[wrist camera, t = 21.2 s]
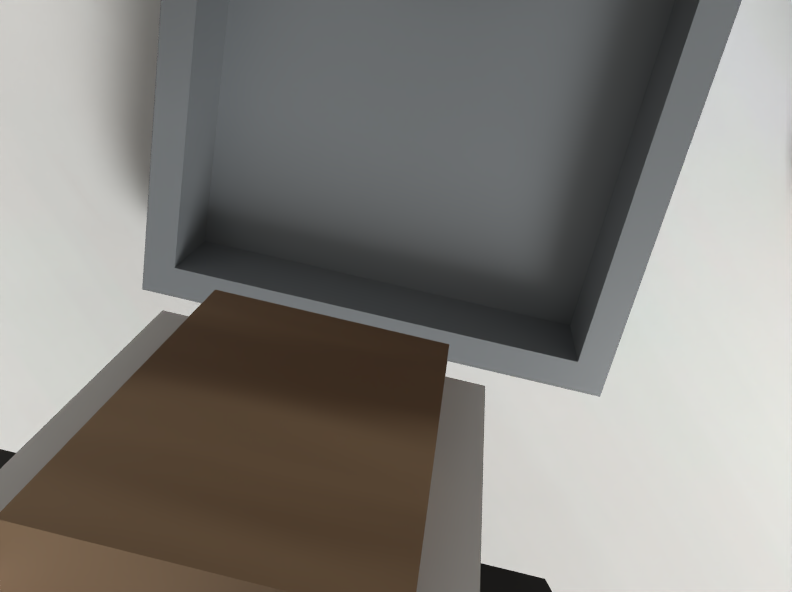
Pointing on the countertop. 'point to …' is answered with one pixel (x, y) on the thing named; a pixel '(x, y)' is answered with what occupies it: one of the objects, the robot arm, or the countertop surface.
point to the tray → (429, 164)
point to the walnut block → (242, 464)
